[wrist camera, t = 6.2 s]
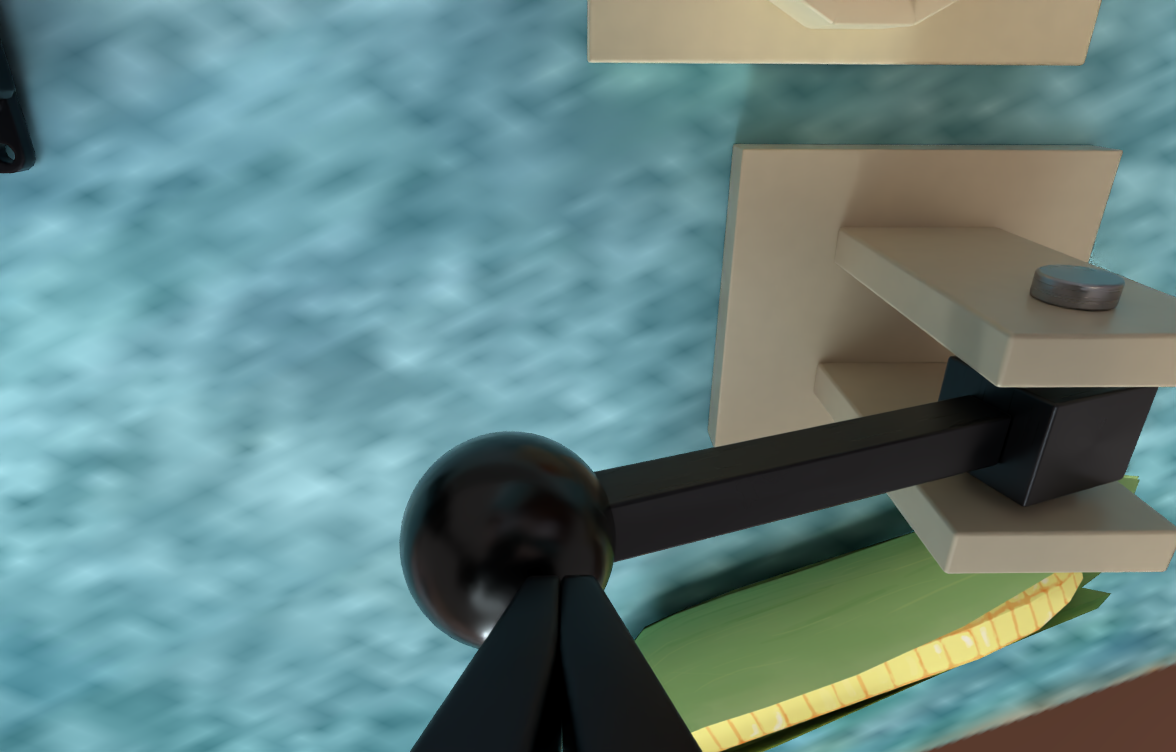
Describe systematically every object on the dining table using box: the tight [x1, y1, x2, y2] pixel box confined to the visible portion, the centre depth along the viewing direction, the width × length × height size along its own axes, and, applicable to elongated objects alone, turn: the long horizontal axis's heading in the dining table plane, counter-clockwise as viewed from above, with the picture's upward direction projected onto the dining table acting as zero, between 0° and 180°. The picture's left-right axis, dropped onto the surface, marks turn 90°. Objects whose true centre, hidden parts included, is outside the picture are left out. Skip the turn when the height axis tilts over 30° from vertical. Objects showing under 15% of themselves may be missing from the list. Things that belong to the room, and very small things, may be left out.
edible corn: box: [634, 475, 1139, 752], centre depth 23 cm, size 5×20×5 cm, turn 117°
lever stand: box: [708, 144, 1176, 574], centre depth 17 cm, size 10×9×9 cm
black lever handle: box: [400, 355, 1158, 649], centre depth 12 cm, size 14×3×3 cm, turn 89°
